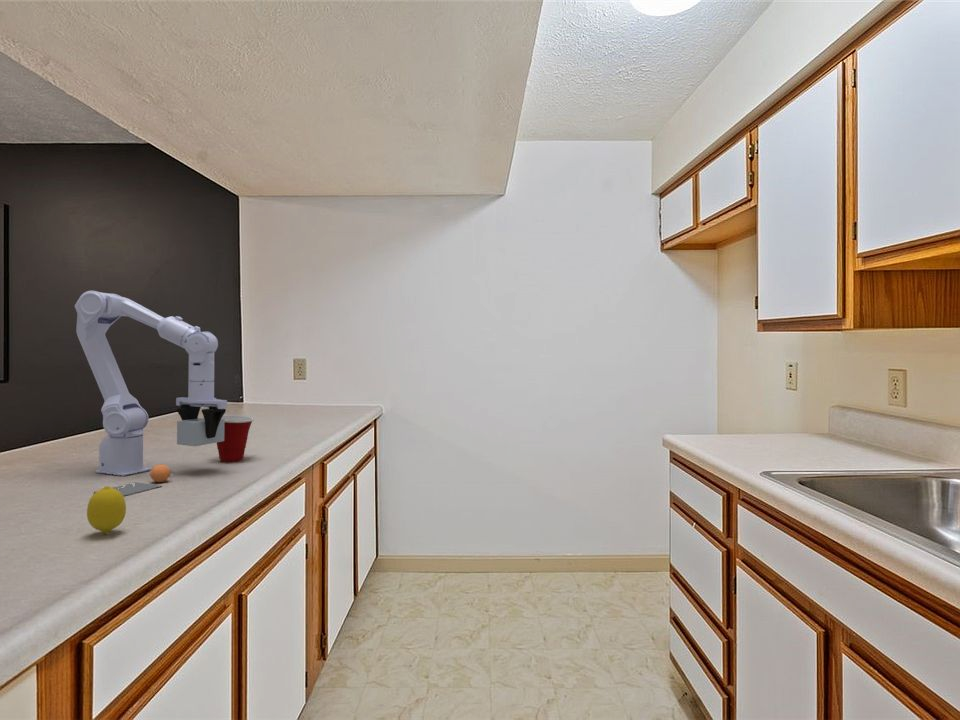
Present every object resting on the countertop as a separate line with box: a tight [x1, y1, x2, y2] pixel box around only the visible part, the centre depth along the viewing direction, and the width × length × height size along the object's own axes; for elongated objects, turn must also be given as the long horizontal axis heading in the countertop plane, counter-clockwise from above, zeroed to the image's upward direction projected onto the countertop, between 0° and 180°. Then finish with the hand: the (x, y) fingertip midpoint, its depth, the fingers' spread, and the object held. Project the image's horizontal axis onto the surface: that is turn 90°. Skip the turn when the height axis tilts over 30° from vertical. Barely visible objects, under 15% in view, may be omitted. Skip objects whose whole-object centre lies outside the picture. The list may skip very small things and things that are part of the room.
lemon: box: [86, 485, 127, 535], centre depth 100 cm, size 6×6×8 cm
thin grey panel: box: [93, 481, 161, 497], centre depth 129 cm, size 8×10×1 cm
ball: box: [149, 464, 171, 483], centre depth 137 cm, size 4×4×4 cm
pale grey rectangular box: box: [176, 417, 225, 447], centre depth 147 cm, size 6×9×6 cm, turn 158°
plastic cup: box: [216, 414, 255, 463], centre depth 162 cm, size 11×11×12 cm
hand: (201, 436), depth 147 cm, fingers closed on pale grey rectangular box, 6 cm apart
